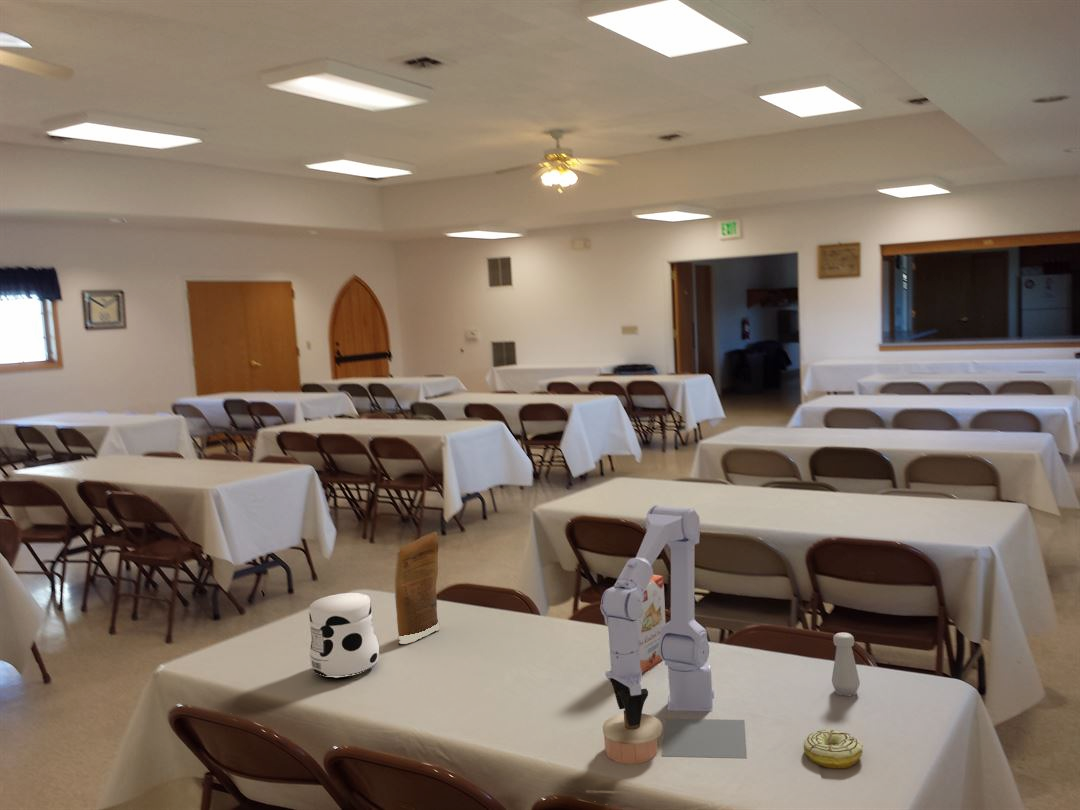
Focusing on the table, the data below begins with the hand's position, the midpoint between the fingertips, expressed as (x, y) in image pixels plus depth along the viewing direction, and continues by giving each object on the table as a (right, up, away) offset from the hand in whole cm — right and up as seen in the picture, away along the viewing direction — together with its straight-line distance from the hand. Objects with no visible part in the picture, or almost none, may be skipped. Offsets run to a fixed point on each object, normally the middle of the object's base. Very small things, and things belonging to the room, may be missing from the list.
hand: (629, 716), depth 176 cm
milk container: (-67, -7, +55) cm, 87 cm away
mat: (+15, -6, +4) cm, 17 cm away
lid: (+1, -3, 0) cm, 3 cm away
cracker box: (+8, -3, +44) cm, 45 cm away
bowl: (+1, -7, +1) cm, 7 cm away
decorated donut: (+38, -6, -7) cm, 39 cm away
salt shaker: (+49, -2, +20) cm, 53 cm away
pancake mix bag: (-50, -4, +76) cm, 91 cm away
